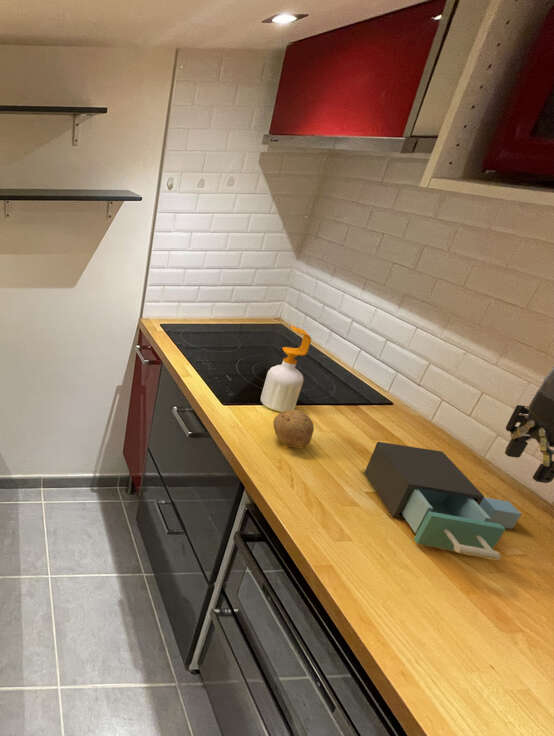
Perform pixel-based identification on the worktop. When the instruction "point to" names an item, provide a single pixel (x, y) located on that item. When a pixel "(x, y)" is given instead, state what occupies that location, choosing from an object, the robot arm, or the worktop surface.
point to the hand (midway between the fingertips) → (525, 467)
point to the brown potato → (293, 428)
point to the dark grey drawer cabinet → (414, 475)
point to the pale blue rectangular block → (500, 512)
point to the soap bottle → (285, 378)
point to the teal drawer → (451, 523)
